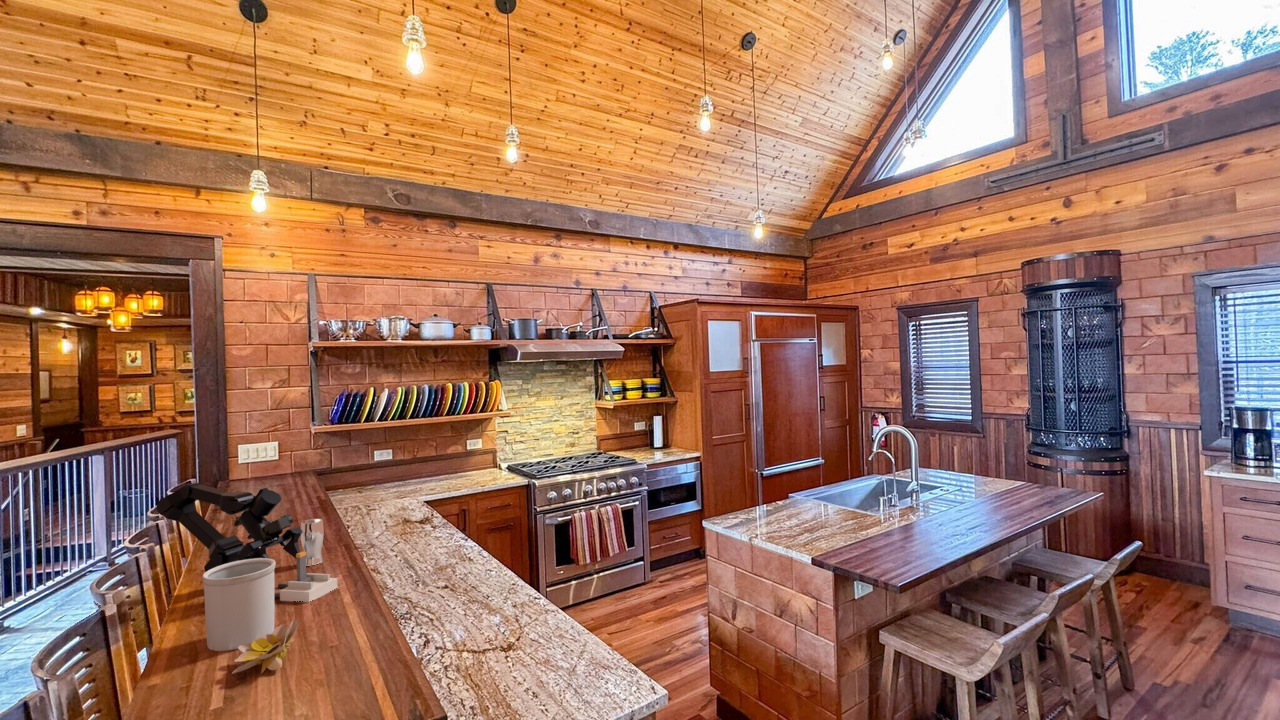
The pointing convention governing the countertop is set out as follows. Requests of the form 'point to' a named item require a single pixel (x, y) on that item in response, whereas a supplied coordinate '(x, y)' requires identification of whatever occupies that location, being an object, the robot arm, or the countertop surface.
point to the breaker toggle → (302, 568)
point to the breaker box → (307, 588)
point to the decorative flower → (267, 649)
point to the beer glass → (312, 540)
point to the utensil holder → (239, 602)
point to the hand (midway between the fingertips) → (287, 564)
